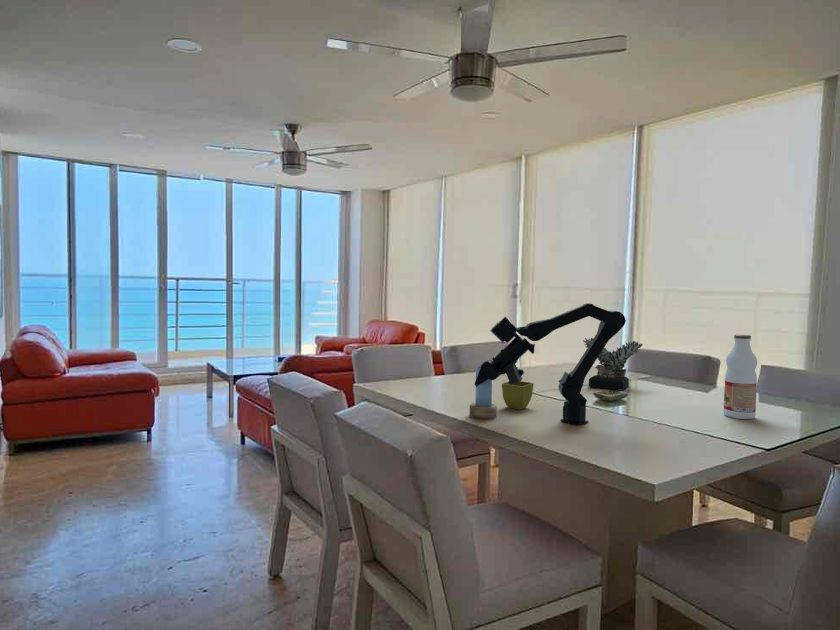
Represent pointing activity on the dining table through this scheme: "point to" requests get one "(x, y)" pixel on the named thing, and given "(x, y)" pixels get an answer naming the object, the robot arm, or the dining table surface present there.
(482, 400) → the vase
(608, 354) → the coral
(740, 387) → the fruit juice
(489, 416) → the grey-beige round disc
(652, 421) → the dining table surface
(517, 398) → the flower pot
